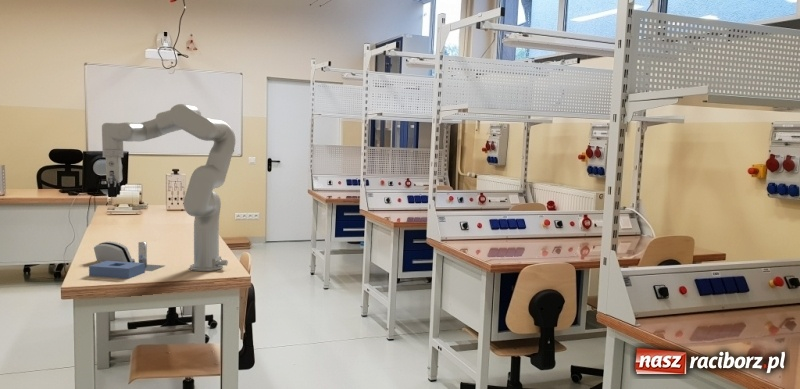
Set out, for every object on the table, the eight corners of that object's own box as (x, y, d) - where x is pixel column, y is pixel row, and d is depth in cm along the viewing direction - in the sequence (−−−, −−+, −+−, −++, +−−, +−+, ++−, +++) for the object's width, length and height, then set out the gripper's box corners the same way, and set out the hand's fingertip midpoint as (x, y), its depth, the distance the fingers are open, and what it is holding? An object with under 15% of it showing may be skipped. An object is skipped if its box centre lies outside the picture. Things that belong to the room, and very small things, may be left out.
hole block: (144, 273, 219) (144, 263, 218) (128, 279, 209) (128, 268, 209) (106, 270, 221) (106, 260, 221) (89, 276, 211) (89, 266, 211)
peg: (148, 266, 229) (148, 242, 228) (144, 268, 226) (143, 243, 225) (141, 266, 229) (141, 241, 228) (137, 267, 226) (136, 242, 225)
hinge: (136, 262, 236) (129, 241, 232) (127, 268, 232) (120, 247, 228) (106, 258, 243) (99, 238, 239) (97, 264, 239) (90, 243, 235)
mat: (166, 266, 231) (166, 265, 231) (151, 271, 222) (151, 271, 222) (134, 264, 233) (134, 263, 233) (118, 269, 224) (118, 268, 224)
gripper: (120, 154, 223) (121, 197, 224) (125, 153, 239) (126, 193, 241) (99, 154, 220) (100, 198, 222) (105, 153, 237) (107, 194, 238)
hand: (114, 195), depth 231 cm, fingers open, 9 cm apart
